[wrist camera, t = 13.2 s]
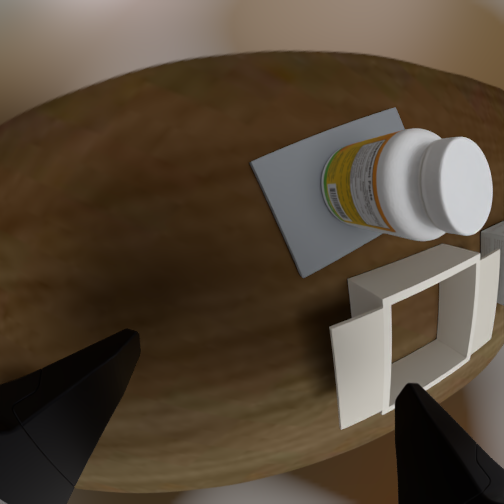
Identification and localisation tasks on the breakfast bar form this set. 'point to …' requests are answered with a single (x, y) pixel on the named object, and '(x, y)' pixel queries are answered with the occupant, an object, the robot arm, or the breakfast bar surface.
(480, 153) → the supplement bottle
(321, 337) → the breakfast bar surface
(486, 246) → the supplement box
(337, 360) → the carton
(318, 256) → the mat
